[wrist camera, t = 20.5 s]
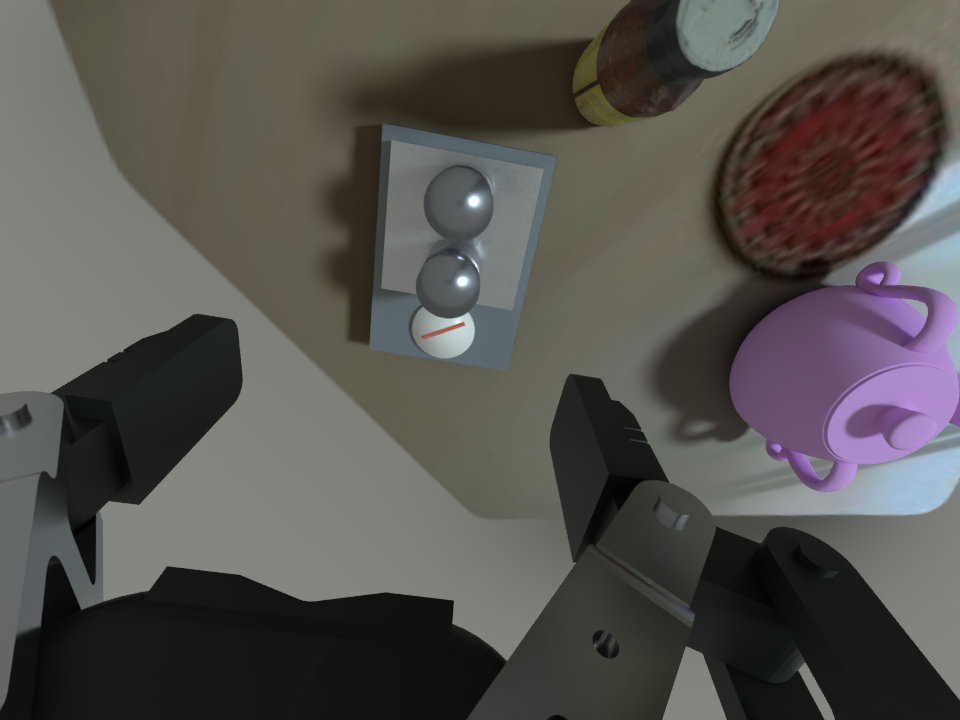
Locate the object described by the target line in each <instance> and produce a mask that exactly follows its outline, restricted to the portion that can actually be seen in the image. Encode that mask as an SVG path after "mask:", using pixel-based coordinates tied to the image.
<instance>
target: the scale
mask: <svg viewBox="0 0 960 720" xmlns="http://www.w3.org/2000/svg"><path fill="white" fill-rule="evenodd" d="M391 140H397V141H403V142H408V143H413V144H418V145H423V146H429V147H434V148H439V149H444V150H450V151H455V152H460V153H465V154H470V155H476V156H481V157H486V158H491V159H496V160H502V161H507V162H512V163H517V164H523V165H528V166H533V167H538V168H543V169H544V171H543V176H542V180H541V185H540V189H539V194H538V198H537V203H536V207H535V212H534V216H533V221H532V225H531V230H530V234H529V239H528V243H527V248H526V252H525V257H524V261H523V266H522V270H521V275H520V279H519V284H518V288H517V293H516V297H515V302H514V306H513V310H508V309H502V308H496V307H490V306H484V305H478V304H475V306H474V307H473V308H472V309H471V310H470V311H469V312H468V313H466V314H465V315H463V316H460V317H457V318H452V319H447V318H441V317H437V316H435V315H433V314H431V313H430V312H428V311H427V310H426V309H425V308H424V307H423V306H422V304H421V303H420V301H419V299H418V297H417V294H412V293H406V292H400V291H394V290H388V289H382V288H381V285H382V270H383V256H384V241H385V226H386V212H387V197H388V182H389V168H390V153H391ZM556 160H557V157H556V156H552V155H547V154H542V153H537V152H532V151H527V150H522V149H517V148H511V147H506V146H501V145H496V144H491V143H486V142H480V141H475V140H470V139H465V138H460V137H455V136H450V135H444V134H439V133H434V132H429V131H424V130H419V129H413V128H408V127H403V126H398V125H393V124H386V123H383V125H382V142H381V159H380V176H379V193H378V210H377V227H376V244H375V261H374V278H373V295H372V312H371V329H370V346H369V349H370V350H376V351H382V352H389V353H395V354H401V355H408V356H414V357H420V358H427V359H433V360H439V361H446V362H452V363H458V364H465V365H471V366H477V367H484V368H490V369H496V370H503V371H508V367H509V363H510V358H511V354H512V350H513V345H514V341H515V337H516V332H517V328H518V324H519V319H520V315H521V311H522V307H523V302H524V298H525V294H526V289H527V285H528V281H529V276H530V272H531V268H532V263H533V259H534V255H535V250H536V246H537V242H538V238H539V233H540V229H541V225H542V220H543V216H544V212H545V207H546V203H547V199H548V194H549V190H550V186H551V182H552V177H553V173H554V169H555V164H556Z"/></svg>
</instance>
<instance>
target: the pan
mask: <svg viewBox="0 0 960 720" xmlns="http://www.w3.org/2000/svg"><path fill="white" fill-rule="evenodd" d="M462 162H464V163H470V164H473V165H475V166H477V167H479V168H480V169H481V170H482V171H483V172H484V173H485V174H486V175H487V177H488V179H489V181H490V183H491V186H492V192H493V203H494V208H493V214H492V218H491V221H490V223H489V225H488V226H487V228H486V229H485V230H484V231H483V232H482V233H481V234H480V235H478V236H477V237H475V238H473V239H471V240H467V241H464V242H466V243H468V244H469V245H470V246H471V247H472V248H473V249H474V250H475V251H476V253H477V254H478V256H479V259H480V264H481V272H480V292H479V297H478V300H477V302H476V304H478V305H484V306H490V307H496V308H502V309H508V310H513V306H514V302H515V297H516V293H517V288H518V284H519V279H520V275H521V270H522V266H523V261H524V257H525V252H526V248H527V243H528V239H529V234H530V230H531V225H532V221H533V216H534V212H535V207H536V203H537V198H538V194H539V189H540V185H541V180H542V176H543V171H544V169H543V168H538V167H533V166H528V165H523V164H517V163H512V162H507V161H502V160H496V159H491V158H486V157H481V156H476V155H470V154H465V153H460V152H455V151H450V150H444V149H439V148H434V147H429V146H423V145H418V144H413V143H408V142H403V141H397V140H391V153H390V168H389V182H388V197H387V212H386V226H385V241H384V256H383V270H382V285H381V288H382V289H388V290H394V291H400V292H406V293H412V294H417V293H416V280H417V277H418V274H419V272H420V270H421V268H422V266H423V264H424V262H425V260H426V258H427V256H428V254H429V252H430V250H431V249H432V248H433V247H434V246H435V245H436V244H437V243H439V242H441V241H444V240H448V239H446V238H444V237H442V236H440V235H439V234H437V233H436V232H435V231H434V230H433V228H432V227H431V226H430V224H429V223H428V221H427V219H426V216H425V212H424V195H425V192H426V189H427V187H428V185H429V183H430V182H431V181H432V179H433V178H434V177H435V176H436V175H438V174H439V173H440V172H441V171H443V170H444V169H445V168H446V167H448V166H450V165H452V164H455V163H462Z"/></svg>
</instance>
